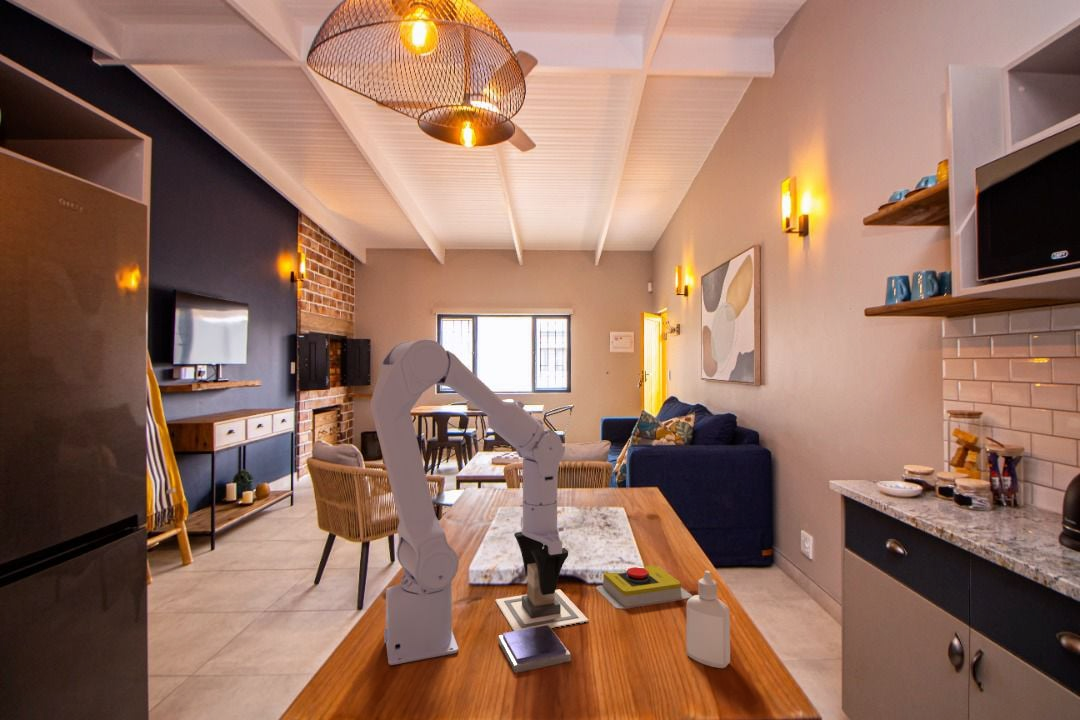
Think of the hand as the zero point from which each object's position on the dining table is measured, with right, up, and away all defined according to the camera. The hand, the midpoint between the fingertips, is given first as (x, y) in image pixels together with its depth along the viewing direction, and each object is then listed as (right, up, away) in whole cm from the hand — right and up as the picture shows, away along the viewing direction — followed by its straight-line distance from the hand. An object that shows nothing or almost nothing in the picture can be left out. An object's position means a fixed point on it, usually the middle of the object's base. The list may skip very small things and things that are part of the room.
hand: (539, 583), depth 84 cm
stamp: (0, -4, 0) cm, 4 cm away
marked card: (0, -5, 0) cm, 4 cm away
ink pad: (-1, -4, -12) cm, 13 cm away
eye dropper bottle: (+23, -5, -14) cm, 27 cm away
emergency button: (+19, -5, +7) cm, 21 cm away
